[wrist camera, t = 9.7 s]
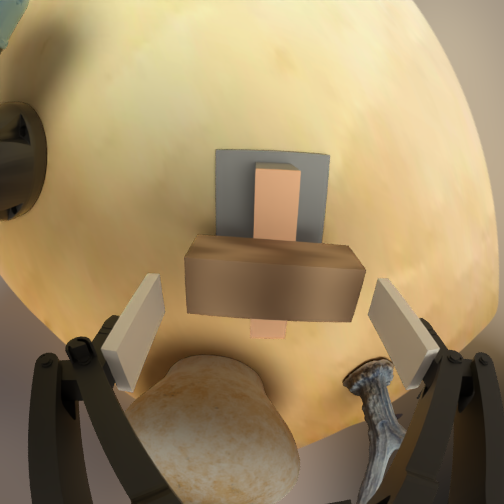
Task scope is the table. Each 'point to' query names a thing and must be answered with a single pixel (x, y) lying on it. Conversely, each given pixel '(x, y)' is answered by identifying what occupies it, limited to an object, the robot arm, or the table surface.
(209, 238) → the walnut bar
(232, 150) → the ridge block
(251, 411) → the vase
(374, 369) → the antler
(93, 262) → the table surface
